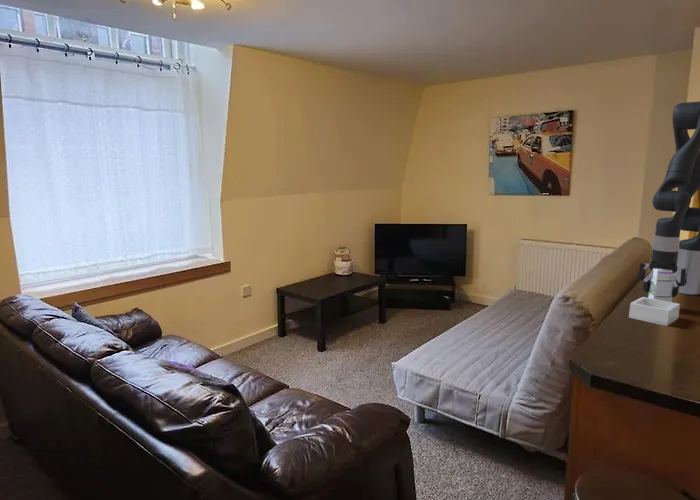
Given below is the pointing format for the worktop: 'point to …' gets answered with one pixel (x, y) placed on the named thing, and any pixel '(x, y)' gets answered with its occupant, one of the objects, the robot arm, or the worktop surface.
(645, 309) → the bin
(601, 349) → the worktop surface
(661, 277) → the syrup box
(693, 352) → the worktop surface
